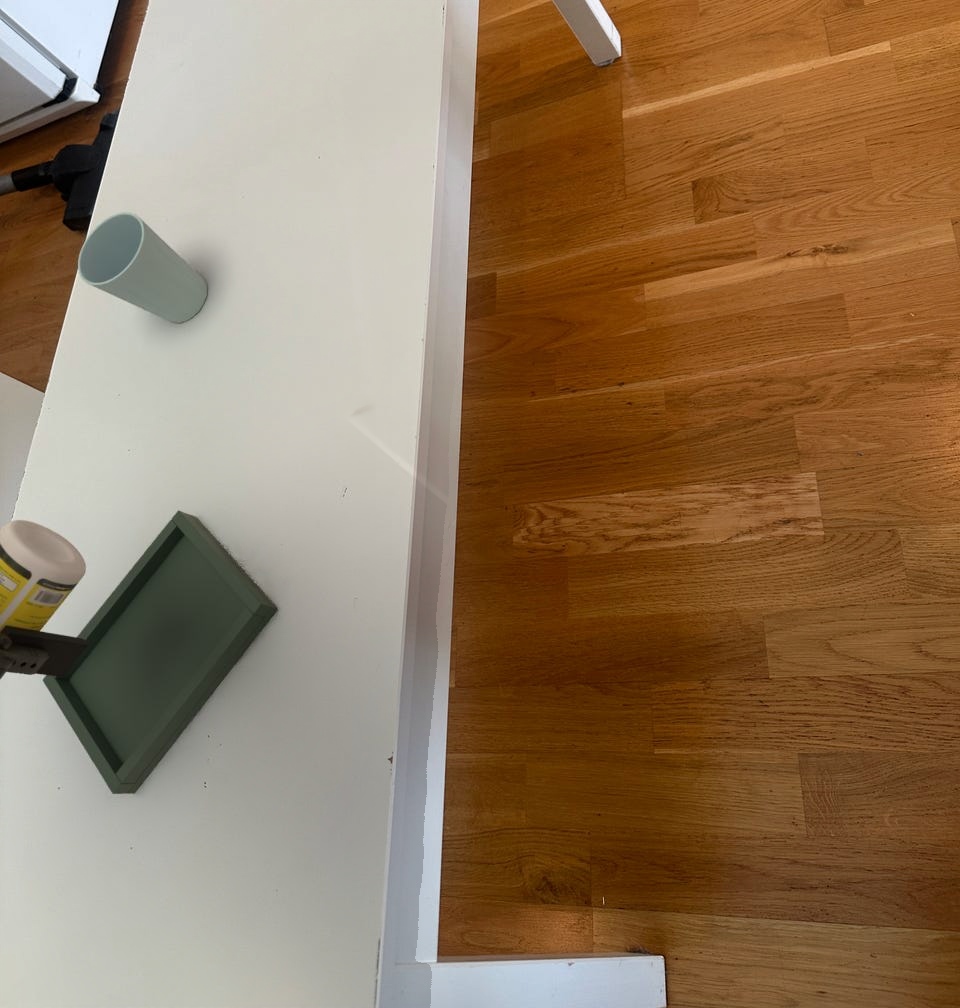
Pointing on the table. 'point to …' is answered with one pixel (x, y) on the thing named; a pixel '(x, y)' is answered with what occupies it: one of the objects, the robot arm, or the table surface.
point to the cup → (141, 269)
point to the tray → (158, 651)
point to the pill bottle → (35, 573)
